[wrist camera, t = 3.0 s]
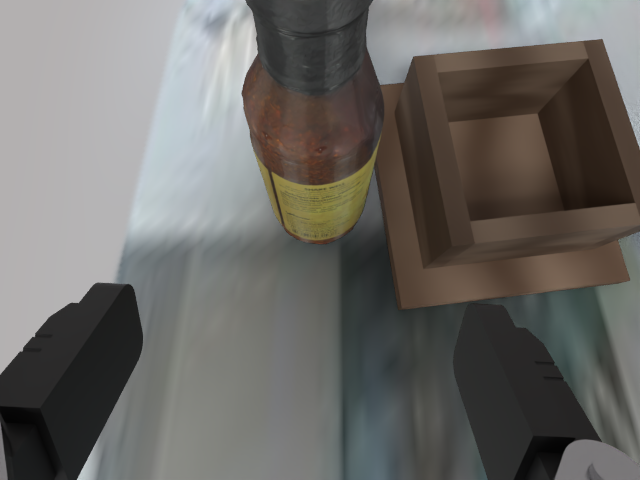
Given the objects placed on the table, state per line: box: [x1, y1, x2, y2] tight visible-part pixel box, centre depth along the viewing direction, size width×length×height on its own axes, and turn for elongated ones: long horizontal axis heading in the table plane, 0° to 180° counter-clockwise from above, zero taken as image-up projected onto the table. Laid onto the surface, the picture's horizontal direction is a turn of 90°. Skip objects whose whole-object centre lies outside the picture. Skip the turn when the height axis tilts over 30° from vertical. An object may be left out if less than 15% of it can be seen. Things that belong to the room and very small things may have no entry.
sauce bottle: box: [242, 0, 384, 244], centre depth 21 cm, size 7×6×20 cm
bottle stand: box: [374, 39, 640, 310], centre depth 28 cm, size 15×16×7 cm
